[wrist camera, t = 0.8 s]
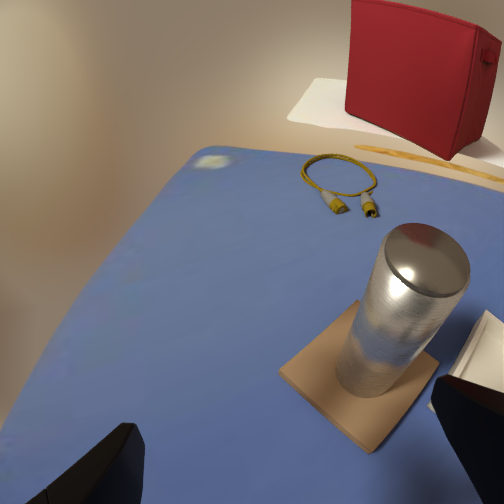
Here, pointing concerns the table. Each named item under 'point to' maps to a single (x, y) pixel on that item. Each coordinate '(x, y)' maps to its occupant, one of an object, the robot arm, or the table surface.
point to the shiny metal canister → (401, 307)
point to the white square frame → (482, 355)
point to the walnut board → (342, 402)
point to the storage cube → (420, 74)
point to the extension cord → (334, 201)
